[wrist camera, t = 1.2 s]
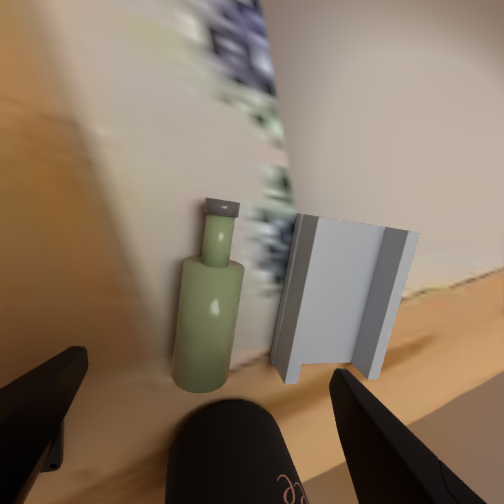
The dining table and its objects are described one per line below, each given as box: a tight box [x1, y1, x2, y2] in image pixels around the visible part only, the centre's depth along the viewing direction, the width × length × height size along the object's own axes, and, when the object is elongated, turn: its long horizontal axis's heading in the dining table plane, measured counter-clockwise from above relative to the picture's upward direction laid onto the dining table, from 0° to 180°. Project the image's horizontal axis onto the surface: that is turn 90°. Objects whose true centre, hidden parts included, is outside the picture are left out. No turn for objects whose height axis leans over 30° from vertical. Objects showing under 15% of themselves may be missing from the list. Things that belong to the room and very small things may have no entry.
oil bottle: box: [172, 198, 244, 393], centre depth 19 cm, size 14×4×4 cm, turn 171°
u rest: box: [270, 213, 420, 384], centre depth 22 cm, size 14×10×3 cm
